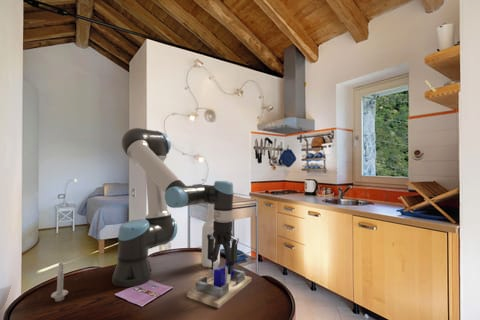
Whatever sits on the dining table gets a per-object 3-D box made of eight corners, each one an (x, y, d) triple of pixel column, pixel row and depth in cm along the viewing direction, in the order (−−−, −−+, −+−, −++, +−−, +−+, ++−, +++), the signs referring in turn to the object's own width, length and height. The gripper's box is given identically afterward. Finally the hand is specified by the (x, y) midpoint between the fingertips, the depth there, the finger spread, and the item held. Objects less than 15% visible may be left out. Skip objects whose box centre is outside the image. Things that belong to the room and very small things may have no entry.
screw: (47, 302, 85) (59, 295, 90) (59, 304, 85) (71, 296, 89) (48, 263, 86) (61, 258, 91) (60, 265, 85) (72, 260, 90)
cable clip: (223, 273, 105) (223, 258, 105) (233, 275, 104) (233, 260, 104) (210, 285, 94) (210, 269, 94) (220, 288, 92) (221, 271, 93)
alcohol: (214, 259, 128) (215, 200, 129) (222, 265, 121) (224, 203, 121) (198, 263, 123) (199, 201, 124) (206, 269, 116) (208, 204, 116)
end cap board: (186, 296, 91) (187, 284, 91) (223, 273, 112) (223, 263, 112) (218, 308, 84) (218, 294, 84) (251, 281, 105) (251, 270, 105)
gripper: (198, 219, 100) (197, 278, 99) (237, 225, 91) (236, 290, 90) (210, 216, 107) (208, 271, 106) (247, 221, 97) (246, 282, 97)
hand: (221, 280), depth 98 cm, fingers closed on cable clip, 5 cm apart
